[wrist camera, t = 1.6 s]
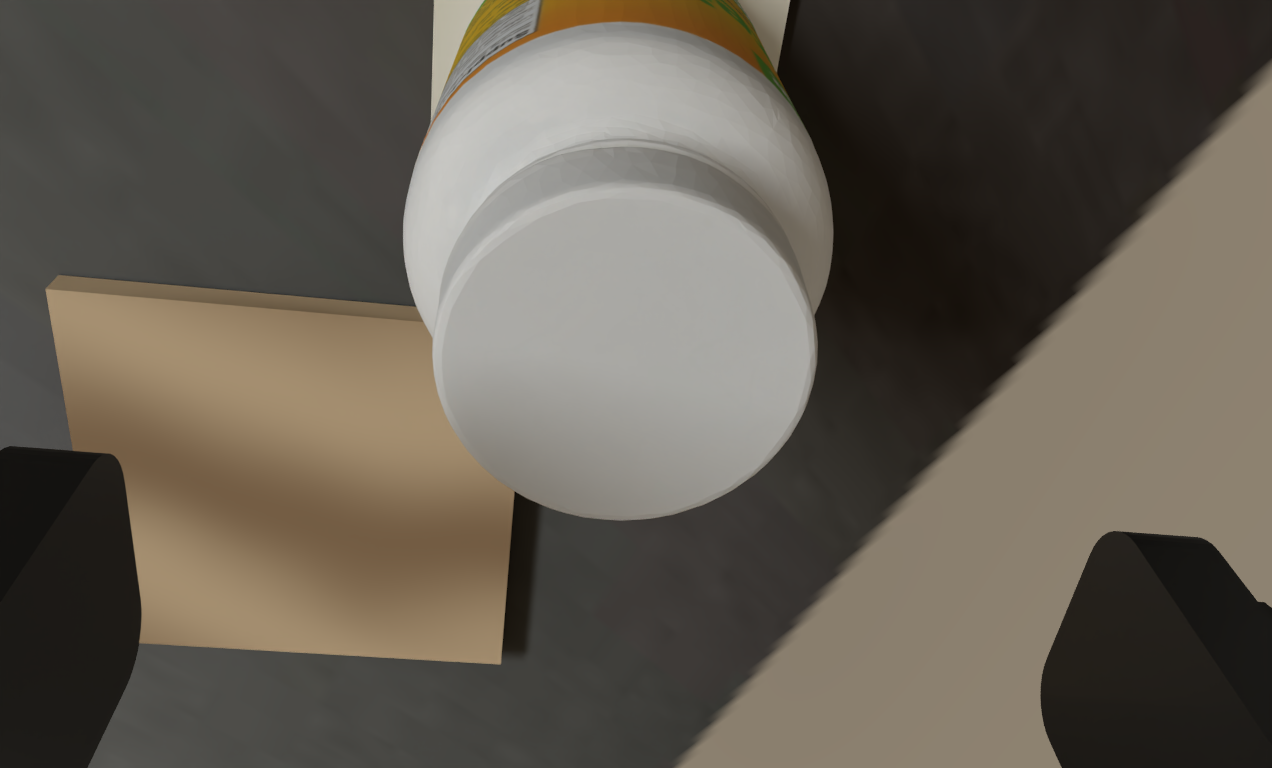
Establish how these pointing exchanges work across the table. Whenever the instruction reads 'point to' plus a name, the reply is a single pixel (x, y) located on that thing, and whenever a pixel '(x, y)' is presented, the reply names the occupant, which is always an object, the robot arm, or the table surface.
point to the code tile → (460, 3)
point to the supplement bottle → (618, 252)
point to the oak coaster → (286, 471)
